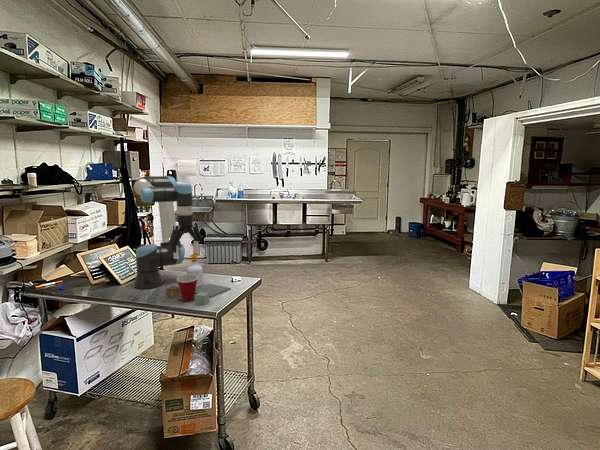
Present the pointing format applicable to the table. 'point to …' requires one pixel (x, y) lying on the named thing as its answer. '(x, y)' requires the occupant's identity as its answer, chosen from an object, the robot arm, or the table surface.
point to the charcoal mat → (212, 289)
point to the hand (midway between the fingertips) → (186, 256)
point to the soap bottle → (196, 268)
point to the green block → (202, 298)
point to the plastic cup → (187, 286)
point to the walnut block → (172, 291)
